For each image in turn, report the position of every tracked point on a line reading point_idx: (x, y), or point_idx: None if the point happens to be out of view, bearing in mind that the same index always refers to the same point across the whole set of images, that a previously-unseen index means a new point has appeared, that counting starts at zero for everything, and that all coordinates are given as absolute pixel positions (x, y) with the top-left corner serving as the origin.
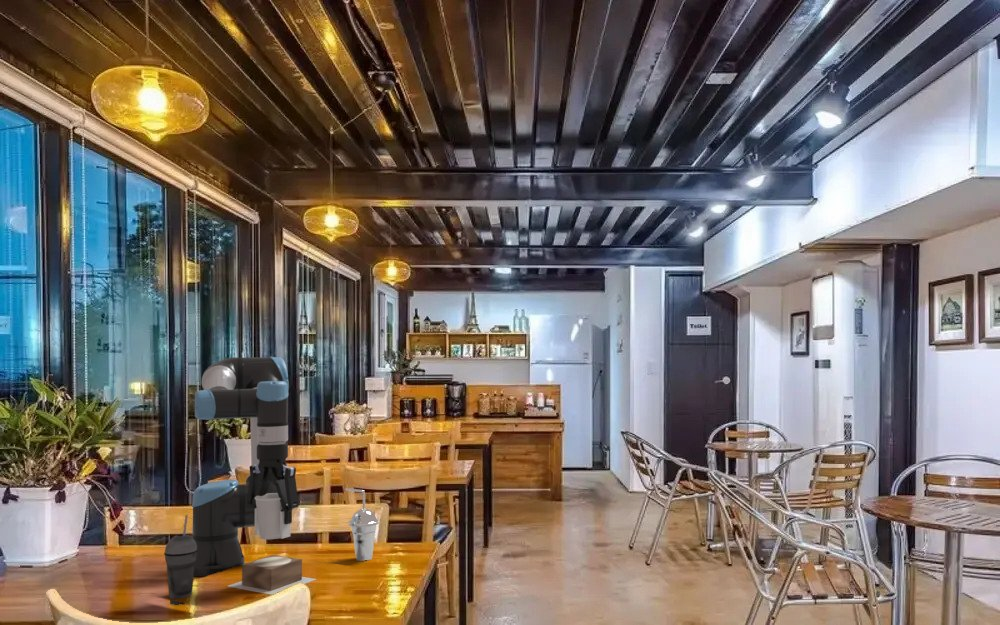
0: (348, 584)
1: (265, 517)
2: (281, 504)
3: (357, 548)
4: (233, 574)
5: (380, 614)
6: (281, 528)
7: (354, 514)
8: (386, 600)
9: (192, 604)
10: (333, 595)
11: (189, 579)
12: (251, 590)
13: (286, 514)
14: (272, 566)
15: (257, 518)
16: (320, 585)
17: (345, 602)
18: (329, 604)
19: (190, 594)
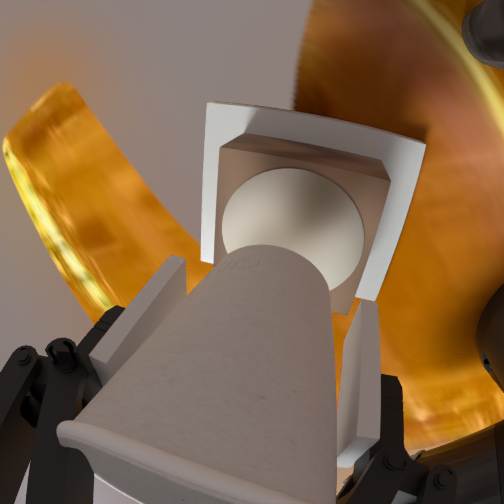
0: (150, 271)
1: (199, 319)
2: (72, 397)
3: None
4: (482, 293)
5: (13, 138)
6: (150, 286)
7: None
8: (41, 200)
9: (439, 20)
10: (122, 195)
11: (484, 17)
12: (311, 118)
13: (88, 344)
14: (244, 182)
15: (358, 378)
16: (198, 254)
17: (77, 164)
18: (90, 140)
19: (469, 35)
